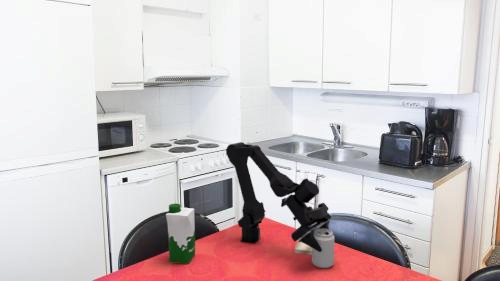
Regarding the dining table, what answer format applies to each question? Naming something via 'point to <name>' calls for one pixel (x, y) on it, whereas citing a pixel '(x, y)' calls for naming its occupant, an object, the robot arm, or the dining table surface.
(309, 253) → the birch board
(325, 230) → the can
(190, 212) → the milk carton
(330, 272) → the dining table surface
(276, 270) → the dining table surface
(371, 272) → the dining table surface
